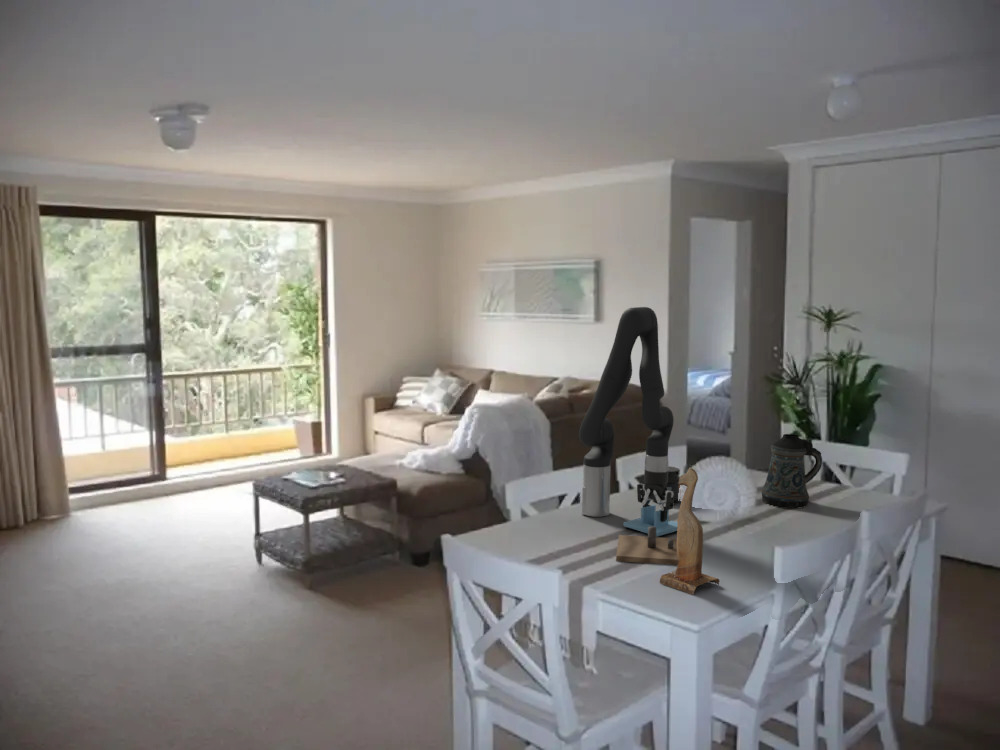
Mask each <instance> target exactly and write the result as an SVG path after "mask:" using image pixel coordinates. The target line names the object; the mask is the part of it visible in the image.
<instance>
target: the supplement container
mask: <svg viewBox="0 0 1000 750" xmlns="http://www.w3.org/2000/svg"><path fill="white" fill-rule="evenodd" d="M680 476H681V469H680V468H679V467H675V466H669V465H668V483H667V485H666V487H667V490H669V491H674V492H675V497H674V504H678V503H679V502H680V501H678V493H679V488H680V485H679V484H678V483H679V478H680ZM665 496H666V495H665ZM666 498H667V497H666ZM651 501H653V502H654V503H657V500H654V499H652V500H651ZM661 501H663V499H661Z"/></svg>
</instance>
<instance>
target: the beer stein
mask: <svg viewBox="0 0 1000 750" xmlns="http://www.w3.org/2000/svg"><path fill="white" fill-rule="evenodd" d="M799 436H800V435H798V434H793V433H792V434H791V433H790V434H789V433H784V434H783V435H782V437H780V439H778V440H777V441H774V442H773V443H772V444H771V445H770V451H771V458H770V462H769V467H768V472H767V476H766V480H765V482H764V485H763V488H762V489H761V497H762V499H761V500H762V502H763V504H765V505H767V504H769V505H768V506H771V505H773V506H772V507H775V506H778V507H777V508H781V507H787V508H786V509H799V508H798V507H802V508H805V507H807V506H808V503H809V499H810V495H809V492H808V488H807V486H806V484H807V483H809V482H811V481H812V480H813V479H814V478H815V476H817V475H818V473H819V472H820V470H821V468H822V465H823V456H822V452H821V451H820V450H818V449H817V448H816V447H813V446H814V445H813V443H812V442H811V441H810V440H808V439H802V438H800V437H799ZM805 456H812V457H814V459H815V463H814V465H813V467H812V468H811V469H810V470H809V471H808V472H807V473H806V471H805V469H806V468H805V459H804V458H805ZM806 505H807V506H806ZM804 506H805V507H804Z"/></svg>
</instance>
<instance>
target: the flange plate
mask: <svg viewBox="0 0 1000 750" xmlns="http://www.w3.org/2000/svg"><path fill="white" fill-rule="evenodd" d="M649 505H650V504H649ZM660 513H661V509H659V510H658V509H657V510H656V504H651V505H650V506H647V507H643V506H642V507H641V508H640V517H638V518H634V519H631V520H627V521H623V527H626V528H629V529H632V530H634V531H635V530H636V531H639V532H642V533H645V534H648V527H649V526H654V527H656V537H661V536H664V535H667V534H670V533H674V532H677V525H678V521H674V520H670V521H669V517H670V515H669V513H670V511H669V510H668V511H667V520H666V521H665V522H661V521H660Z"/></svg>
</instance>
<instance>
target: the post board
mask: <svg viewBox="0 0 1000 750" xmlns="http://www.w3.org/2000/svg"><path fill="white" fill-rule="evenodd" d="M617 540H618V541H617V547H616V555H615V557H616V558H615V561H616V562H629V563H646V564H657V565H659V564H660V565H673V566H674V565H675V566H678V564H679V560H678V556H677V537H676V538H675V537H661V536H658V537H657V536H656V527H654V525H653V526H649V527H648V533H647V536H643V535H642V536H641V535H624V534H623V535H622V534H619V535H618V539H617Z"/></svg>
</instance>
